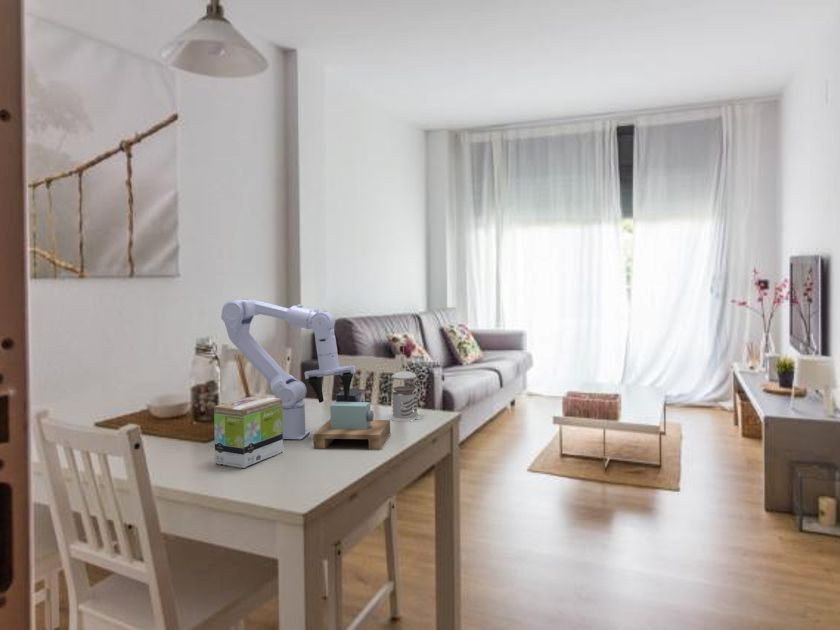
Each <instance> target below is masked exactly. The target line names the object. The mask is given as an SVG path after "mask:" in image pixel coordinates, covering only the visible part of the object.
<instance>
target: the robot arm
mask: <svg viewBox="0 0 840 630" xmlns="http://www.w3.org/2000/svg"><path fill="white" fill-rule="evenodd" d="M260 315H262V316H266V317H267V316H268V317H273V318H276V319H277V318H278V319H282V320H286V322H287V324H288V325H289V326H293V327H298V328H301V329H305V330H311V331H313V333H314V338H315V339H314V340H315V347H316V353H317V361H318V368H319V369H314V370H313V369H312V370H307V371H305V372H304V378H305V380H308V381H307V382H308V384H309V385H310V386H311V388H312V389H313V391H314V393H315V396H316V397H317V399H318V403H319V404H320V403H323V402H324V394H323V393H324V392H323V387H322V385H323V384H322V377H330V376H338V375H340V380H341V382H342V387H343V391H344V397H345V400H348V399H349V390H350V389H351V383H352V380H353V378H354V374H355V373H356V372H357V370H356V365H345V366H340V360H339V354H338V347H337V338H336V334H335V328H334V327H335V326H336V318H335V316H334V315H333V314H332V313H331V312H328V311H327V310H324V311H319V308H314V309H312V308H306V307H304V305H303V304H297V305H292V306H291V307H289V308H287V307H284V306H280V305H277V304H273V303H270V302H269V303H268V302H266V301H263V300H262V301H261V300H256V299H247V298H242V299H237V300H236V299H235V300H234V299H231V300H228V301H226V302H225V303H224V304H223V306H222V310H221V320H222V321H223V322H224V325H225V327H226V328H225V330H226V333H227V336H228V338H229V341H230V342H231V343H233V345H234V346H235V347H236V348H237V349H238V350H239V352H241V354H243V356H244V357H245V358H246V359H247V360H248V361H249V363H251V364H252V366H253V367H254V369H256V370H257V371H258V372H259V373H260V374H261V375H262V376H263V377H264V378H265V380H266V381H267V382H268V383H269V384H270V391H271V392H272V393H273V395H274V396H275V397H274V398H279V399H282V416H283V440H303V439H304V438H305V437H306V436H308V435H309V434H310V433H311V430H306V409H305V407H306V406H305V401H304V399H305V397H306V396H307V394H308V392H307V391H308V390H307V386H306V383H304V382H303V381H301V380H299V379H296V378H295V377H294V376H293V375H292V374H289V373H288V372H286V371H284V369H283V368H282V367H281V366H280V365H279V364H278V362H276V360H275V359H274V358H273V357H272V356H271V355H270V354H269V353H268V351H266V349H264V347H262V345H261V344H260V343H259V342H258V341H257V339H255V337H253V336H252V335H251V333H250V329H251V328H250V327H251V323H252V322H253V319H254V317H255V316H260Z"/></svg>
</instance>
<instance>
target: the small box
mask: <svg viewBox="0 0 840 630" xmlns="http://www.w3.org/2000/svg"><path fill="white" fill-rule="evenodd" d="M365 390H366V389H362V388H350V390H349V399H348V400H345V397H344V390H342V391H340V392H339V393H336V394H335V400H336V401H335V402H366V399H365V398H366V392H365Z"/></svg>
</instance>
